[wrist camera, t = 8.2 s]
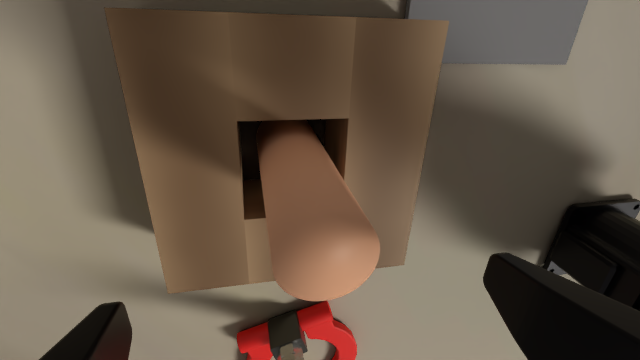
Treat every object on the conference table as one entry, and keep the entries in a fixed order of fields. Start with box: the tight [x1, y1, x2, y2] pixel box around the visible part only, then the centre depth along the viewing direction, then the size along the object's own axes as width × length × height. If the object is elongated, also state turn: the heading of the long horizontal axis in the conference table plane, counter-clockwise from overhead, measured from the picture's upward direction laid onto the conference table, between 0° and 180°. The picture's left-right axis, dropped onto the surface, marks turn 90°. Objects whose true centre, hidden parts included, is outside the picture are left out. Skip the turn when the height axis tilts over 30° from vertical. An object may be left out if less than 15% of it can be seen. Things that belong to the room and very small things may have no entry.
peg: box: [256, 119, 380, 301], centre depth 13 cm, size 3×3×10 cm
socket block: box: [104, 8, 449, 294], centre depth 16 cm, size 12×12×4 cm
